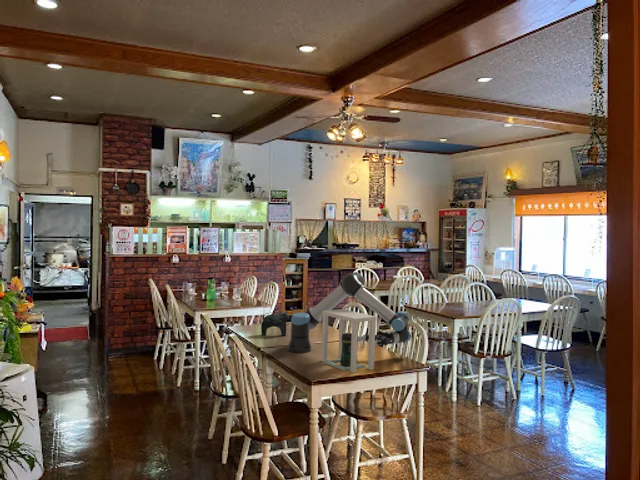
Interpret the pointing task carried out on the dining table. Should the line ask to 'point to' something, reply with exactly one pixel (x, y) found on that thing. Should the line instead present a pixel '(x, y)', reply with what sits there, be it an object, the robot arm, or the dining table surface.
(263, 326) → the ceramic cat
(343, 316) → the cream stool
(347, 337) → the dark green bottle
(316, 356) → the dining table surface
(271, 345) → the dining table surface
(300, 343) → the robot arm
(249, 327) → the dining table surface
